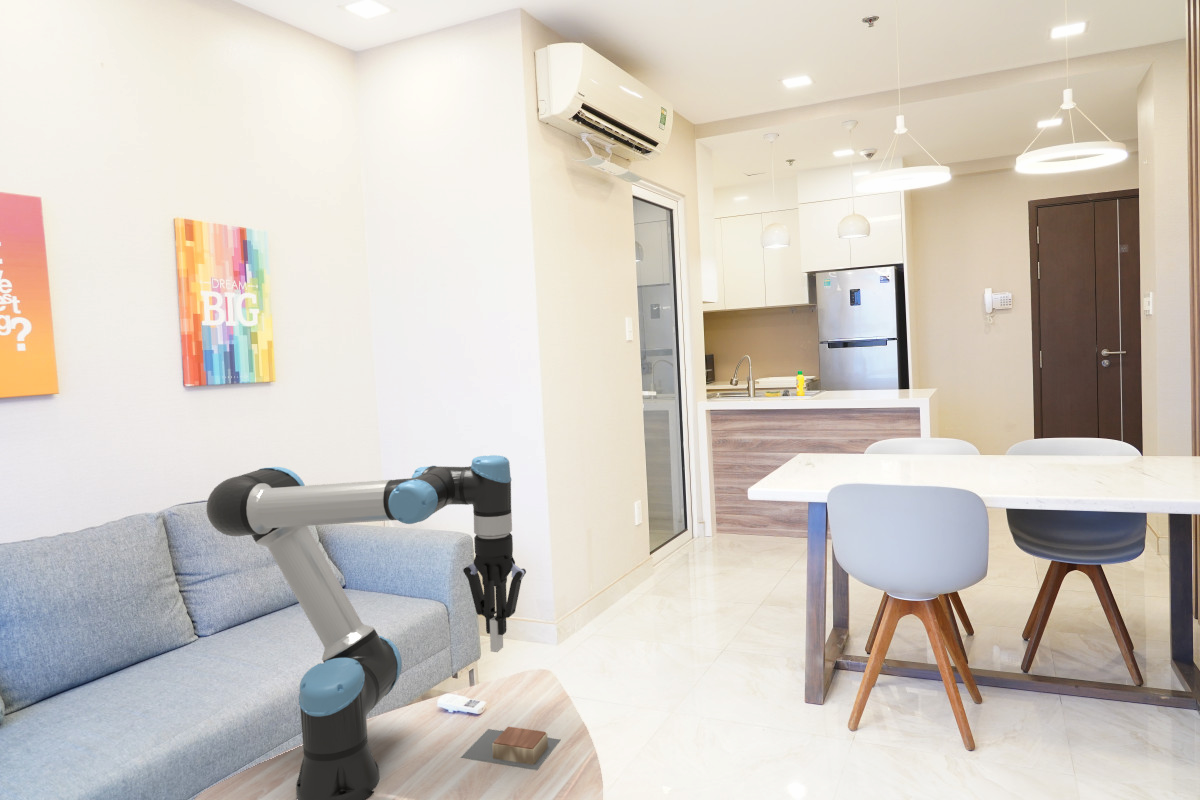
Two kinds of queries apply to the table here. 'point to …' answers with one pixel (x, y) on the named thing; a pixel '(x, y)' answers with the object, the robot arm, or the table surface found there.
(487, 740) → the mat
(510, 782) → the table surface
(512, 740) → the brown wooden block
